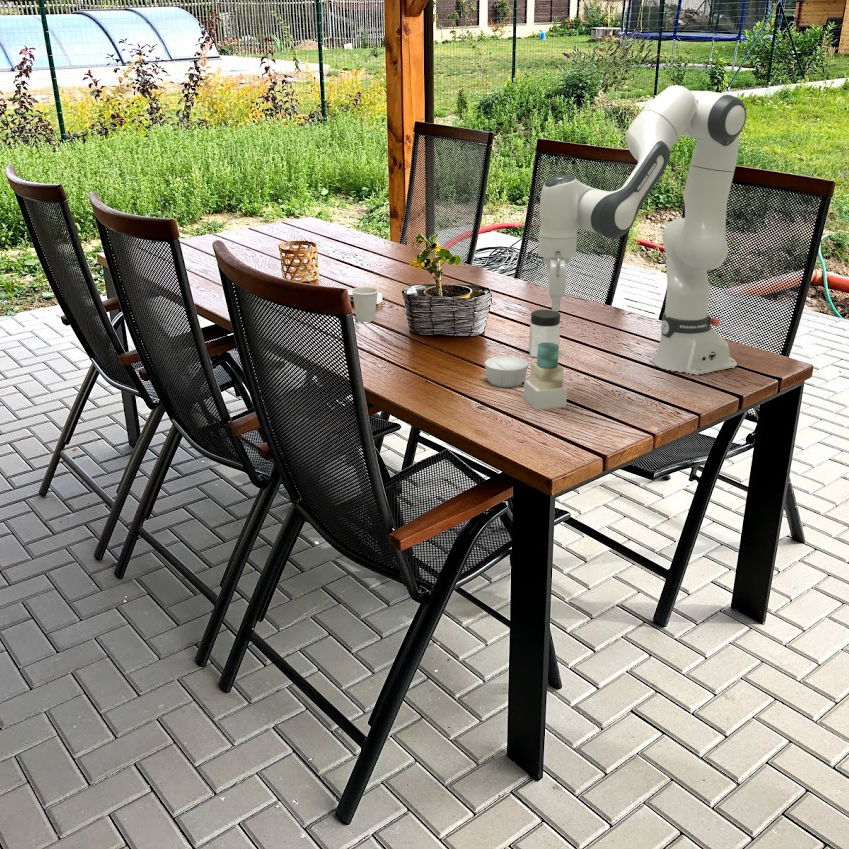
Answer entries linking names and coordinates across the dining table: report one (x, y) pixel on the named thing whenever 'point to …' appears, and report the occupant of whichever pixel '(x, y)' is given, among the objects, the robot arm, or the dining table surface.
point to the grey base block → (544, 396)
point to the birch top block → (546, 377)
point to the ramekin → (506, 371)
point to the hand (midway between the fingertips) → (555, 304)
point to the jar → (543, 329)
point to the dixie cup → (365, 303)
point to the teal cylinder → (547, 355)
